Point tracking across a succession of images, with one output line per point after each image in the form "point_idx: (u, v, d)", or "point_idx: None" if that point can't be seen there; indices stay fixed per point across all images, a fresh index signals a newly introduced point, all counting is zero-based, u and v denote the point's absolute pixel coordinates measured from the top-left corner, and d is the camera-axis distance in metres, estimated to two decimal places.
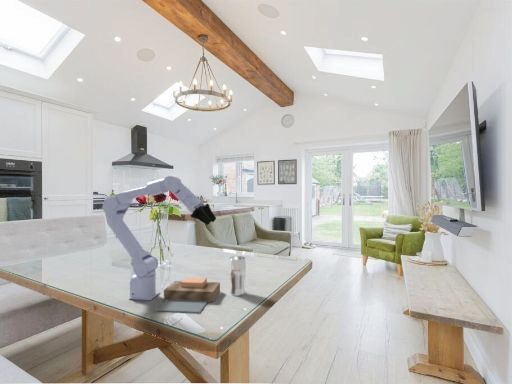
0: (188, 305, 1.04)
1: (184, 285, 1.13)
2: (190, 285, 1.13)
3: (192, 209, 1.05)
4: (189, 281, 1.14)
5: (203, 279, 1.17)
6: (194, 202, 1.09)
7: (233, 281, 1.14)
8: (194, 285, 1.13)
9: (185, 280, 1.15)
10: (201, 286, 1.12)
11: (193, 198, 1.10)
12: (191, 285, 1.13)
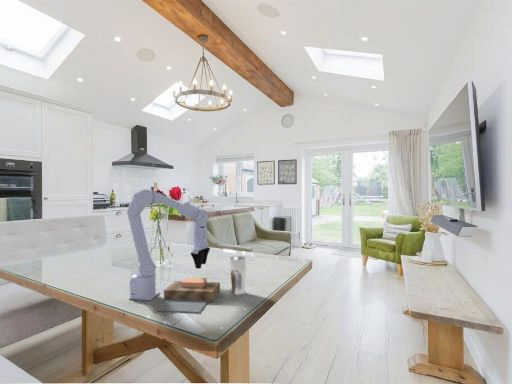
0: (188, 305, 1.04)
1: (184, 285, 1.13)
2: (190, 285, 1.13)
3: (195, 252, 1.17)
4: (189, 281, 1.14)
5: (203, 279, 1.17)
6: (201, 244, 1.22)
7: (233, 281, 1.14)
8: (194, 285, 1.13)
9: (185, 280, 1.15)
10: (201, 286, 1.12)
11: (203, 241, 1.23)
12: (191, 285, 1.13)
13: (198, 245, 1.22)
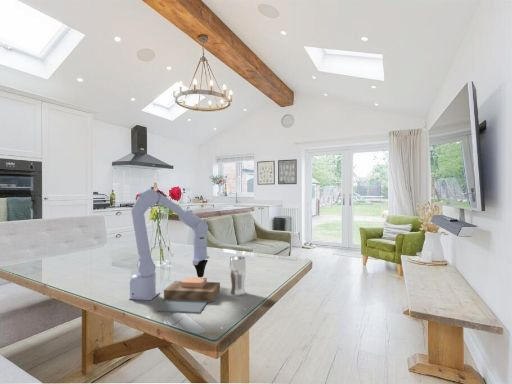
0: (188, 305, 1.04)
1: (184, 285, 1.13)
2: (190, 285, 1.13)
3: (195, 263, 1.17)
4: (189, 281, 1.14)
5: (203, 279, 1.17)
6: (201, 255, 1.22)
7: (233, 281, 1.14)
8: (194, 285, 1.13)
9: (185, 280, 1.15)
10: (201, 286, 1.12)
11: (203, 252, 1.22)
12: (191, 285, 1.13)
13: (198, 256, 1.21)
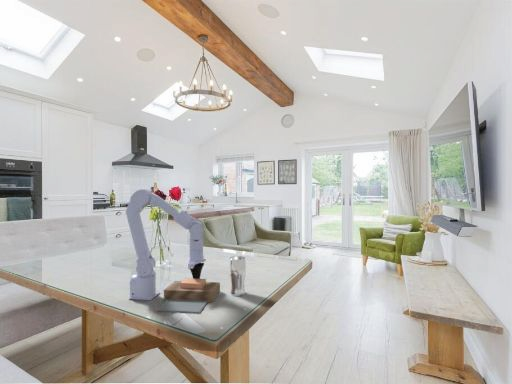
0: (188, 305, 1.04)
1: (183, 286, 1.12)
2: (189, 286, 1.12)
3: (191, 267, 1.12)
4: (188, 282, 1.13)
5: (202, 280, 1.16)
6: (197, 258, 1.16)
7: (233, 281, 1.14)
8: (193, 286, 1.12)
9: (184, 281, 1.15)
10: (200, 287, 1.11)
11: (199, 255, 1.17)
12: (190, 286, 1.12)
13: (193, 259, 1.16)
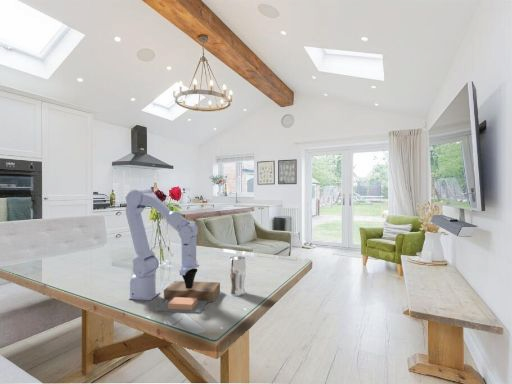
0: None
1: None
2: None
3: (182, 273, 1.03)
4: None
5: None
6: (190, 264, 1.08)
7: (233, 281, 1.14)
8: None
9: None
10: None
11: (192, 260, 1.08)
12: None
13: (186, 265, 1.07)
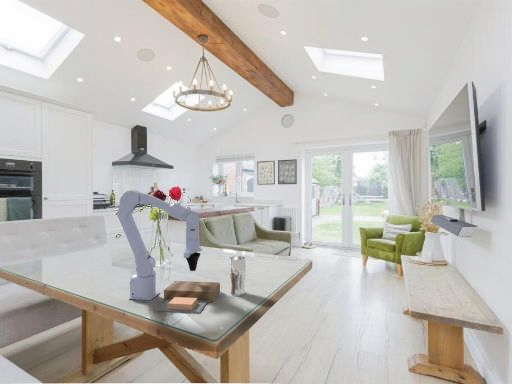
0: None
1: None
2: None
3: (186, 256, 1.11)
4: None
5: None
6: (193, 248, 1.16)
7: (233, 281, 1.14)
8: None
9: None
10: None
11: (195, 244, 1.16)
12: None
13: (190, 248, 1.16)
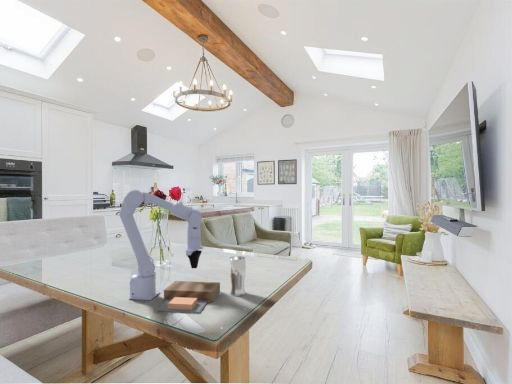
0: None
1: None
2: None
3: (188, 253, 1.15)
4: None
5: None
6: (195, 246, 1.19)
7: (233, 281, 1.14)
8: None
9: None
10: None
11: (197, 242, 1.20)
12: None
13: (191, 246, 1.19)
